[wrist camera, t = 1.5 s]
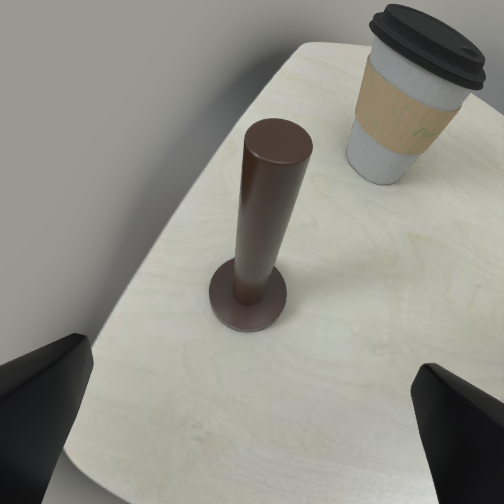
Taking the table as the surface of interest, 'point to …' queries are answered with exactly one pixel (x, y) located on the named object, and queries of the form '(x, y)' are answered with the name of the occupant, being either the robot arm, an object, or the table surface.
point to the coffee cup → (409, 90)
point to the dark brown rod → (261, 225)
